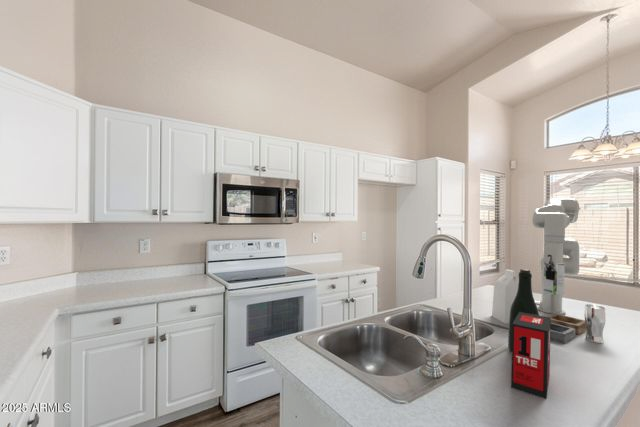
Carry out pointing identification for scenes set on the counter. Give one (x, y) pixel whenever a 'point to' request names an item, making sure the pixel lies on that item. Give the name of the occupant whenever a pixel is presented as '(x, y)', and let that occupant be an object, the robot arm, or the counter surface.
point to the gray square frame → (561, 333)
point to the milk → (504, 295)
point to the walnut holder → (570, 323)
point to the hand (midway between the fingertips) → (553, 278)
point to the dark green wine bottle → (522, 301)
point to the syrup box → (554, 285)
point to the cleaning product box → (531, 354)
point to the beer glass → (595, 322)
